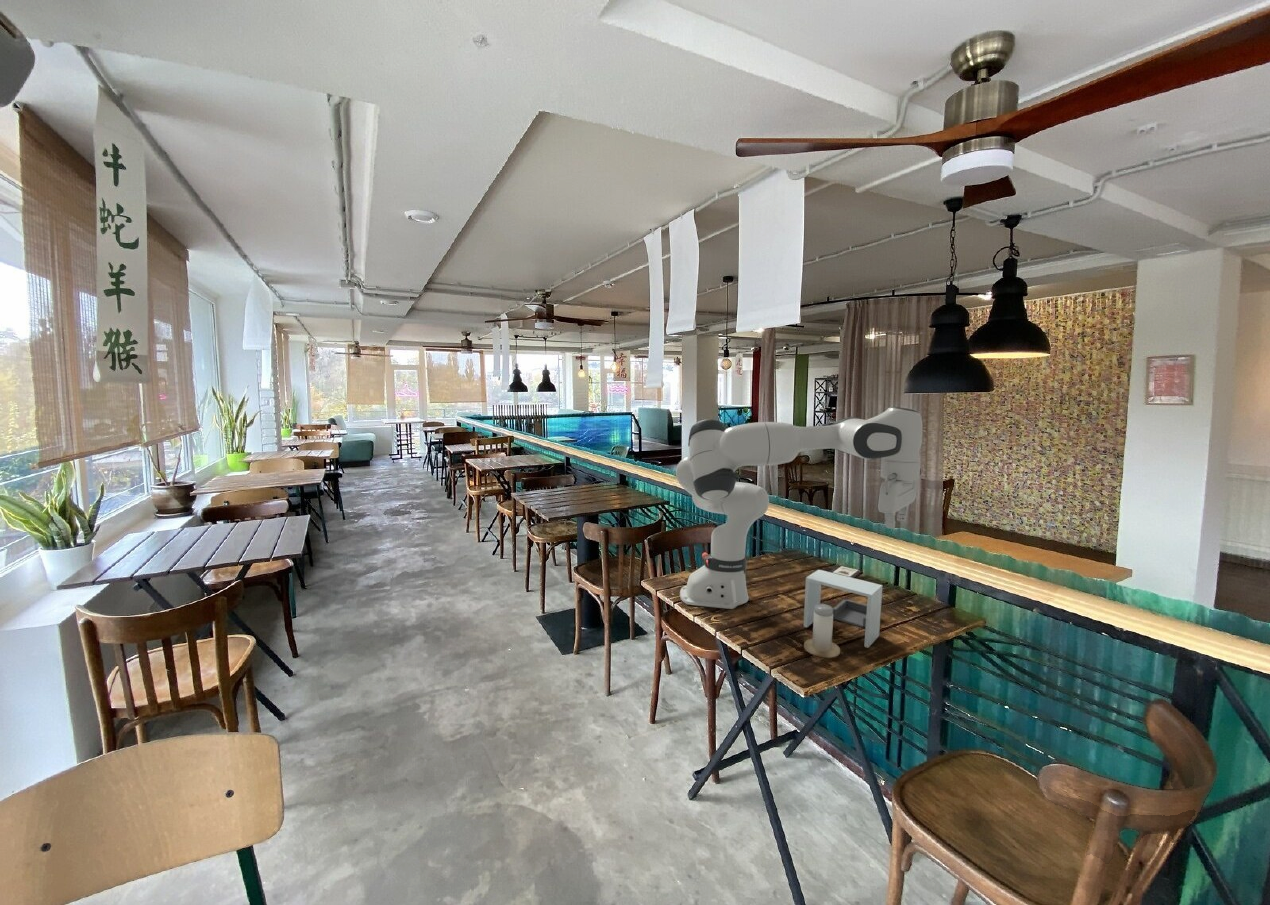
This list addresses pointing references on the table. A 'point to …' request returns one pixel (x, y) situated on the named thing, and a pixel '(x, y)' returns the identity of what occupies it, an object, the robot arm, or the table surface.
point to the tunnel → (849, 585)
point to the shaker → (822, 627)
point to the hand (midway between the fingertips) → (895, 524)
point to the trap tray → (851, 613)
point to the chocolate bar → (846, 571)
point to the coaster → (829, 654)
